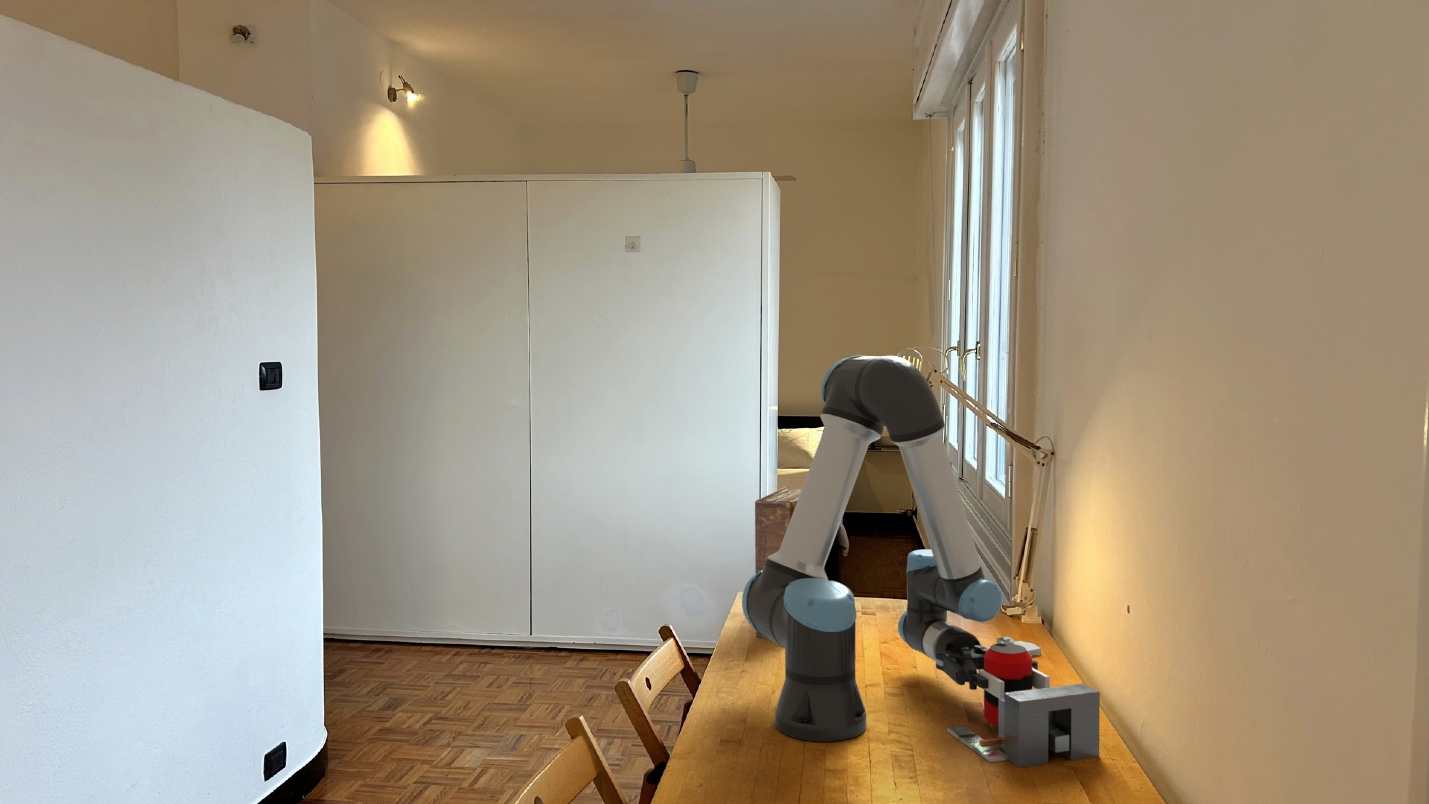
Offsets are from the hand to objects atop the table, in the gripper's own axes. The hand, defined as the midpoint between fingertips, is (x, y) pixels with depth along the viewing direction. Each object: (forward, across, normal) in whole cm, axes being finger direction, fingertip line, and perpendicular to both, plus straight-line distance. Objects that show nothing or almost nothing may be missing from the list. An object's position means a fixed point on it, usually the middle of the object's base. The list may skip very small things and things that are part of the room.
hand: (1024, 687), depth 160 cm
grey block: (+6, +2, -8) cm, 10 cm away
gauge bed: (+1, +1, -9) cm, 9 cm away
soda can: (-5, 0, -7) cm, 9 cm away
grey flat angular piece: (-42, -23, -9) cm, 49 cm away
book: (-76, +11, -9) cm, 77 cm away
